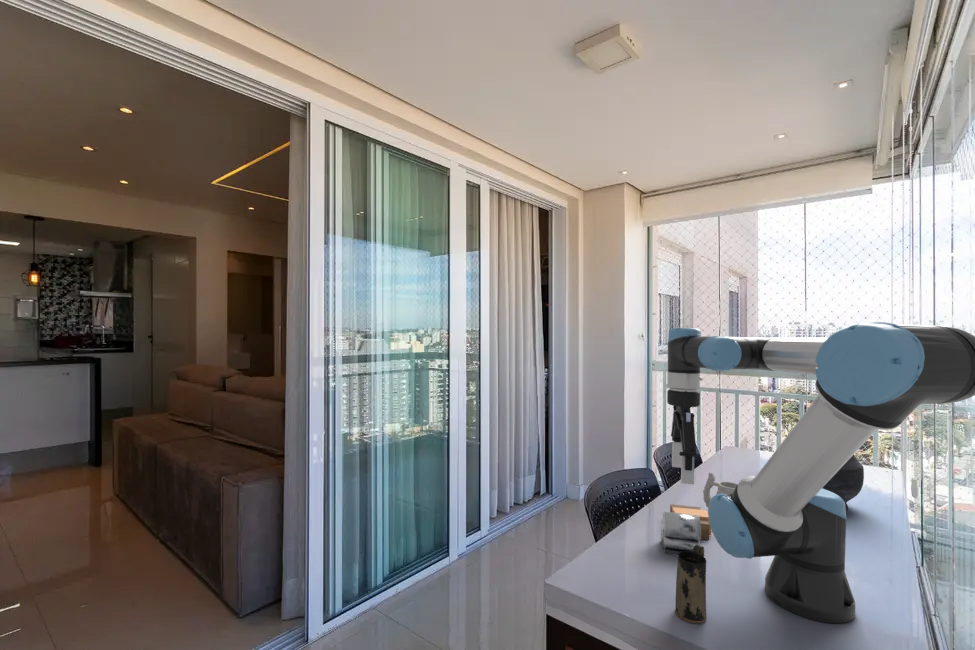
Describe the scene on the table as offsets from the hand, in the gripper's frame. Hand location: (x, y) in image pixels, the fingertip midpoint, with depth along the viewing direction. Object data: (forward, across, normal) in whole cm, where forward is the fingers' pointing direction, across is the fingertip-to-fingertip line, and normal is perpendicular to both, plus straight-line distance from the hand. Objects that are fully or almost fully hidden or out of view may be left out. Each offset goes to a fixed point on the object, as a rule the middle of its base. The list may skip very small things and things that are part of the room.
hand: (682, 474), depth 115 cm
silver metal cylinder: (+16, 0, 0) cm, 16 cm away
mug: (+19, +26, -16) cm, 36 cm away
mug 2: (+19, -26, +2) cm, 33 cm away
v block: (+19, 0, 0) cm, 19 cm away
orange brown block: (+19, +14, -5) cm, 24 cm away
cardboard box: (+19, +14, -4) cm, 24 cm away
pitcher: (+19, +48, -52) cm, 73 cm away
